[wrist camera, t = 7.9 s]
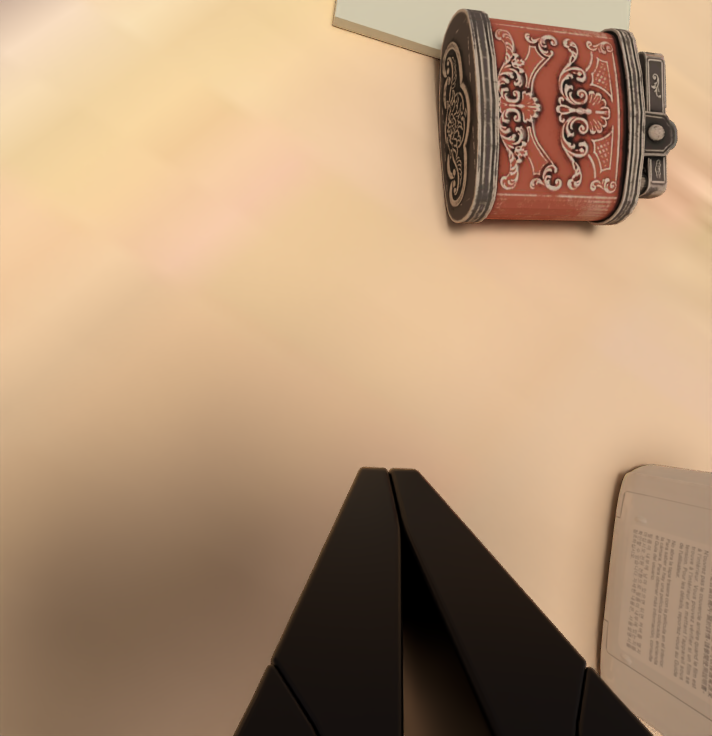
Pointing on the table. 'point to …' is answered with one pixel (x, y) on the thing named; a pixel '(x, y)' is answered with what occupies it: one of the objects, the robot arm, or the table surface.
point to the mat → (439, 3)
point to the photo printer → (662, 600)
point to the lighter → (549, 122)
